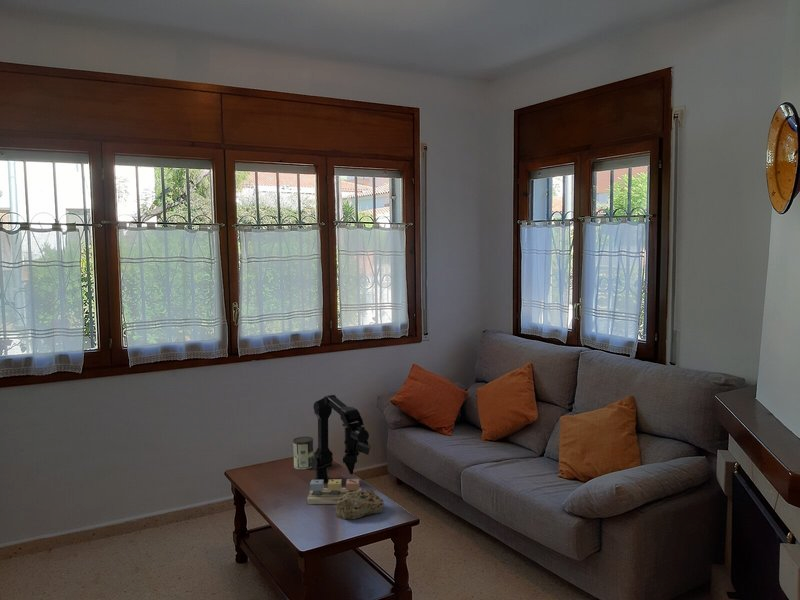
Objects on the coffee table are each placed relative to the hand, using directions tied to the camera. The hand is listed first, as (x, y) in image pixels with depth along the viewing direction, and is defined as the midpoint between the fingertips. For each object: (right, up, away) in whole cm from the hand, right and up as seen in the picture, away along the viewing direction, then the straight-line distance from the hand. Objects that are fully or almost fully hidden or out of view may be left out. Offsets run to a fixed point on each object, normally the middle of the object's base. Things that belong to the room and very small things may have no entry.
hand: (352, 471), depth 289 cm
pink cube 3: (0, -10, +1) cm, 10 cm away
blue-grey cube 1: (-16, -10, +1) cm, 19 cm away
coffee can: (-28, -9, +44) cm, 53 cm away
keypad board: (-8, -12, +1) cm, 14 cm away
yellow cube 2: (-8, -10, +1) cm, 13 cm away
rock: (+4, -14, -15) cm, 21 cm away
